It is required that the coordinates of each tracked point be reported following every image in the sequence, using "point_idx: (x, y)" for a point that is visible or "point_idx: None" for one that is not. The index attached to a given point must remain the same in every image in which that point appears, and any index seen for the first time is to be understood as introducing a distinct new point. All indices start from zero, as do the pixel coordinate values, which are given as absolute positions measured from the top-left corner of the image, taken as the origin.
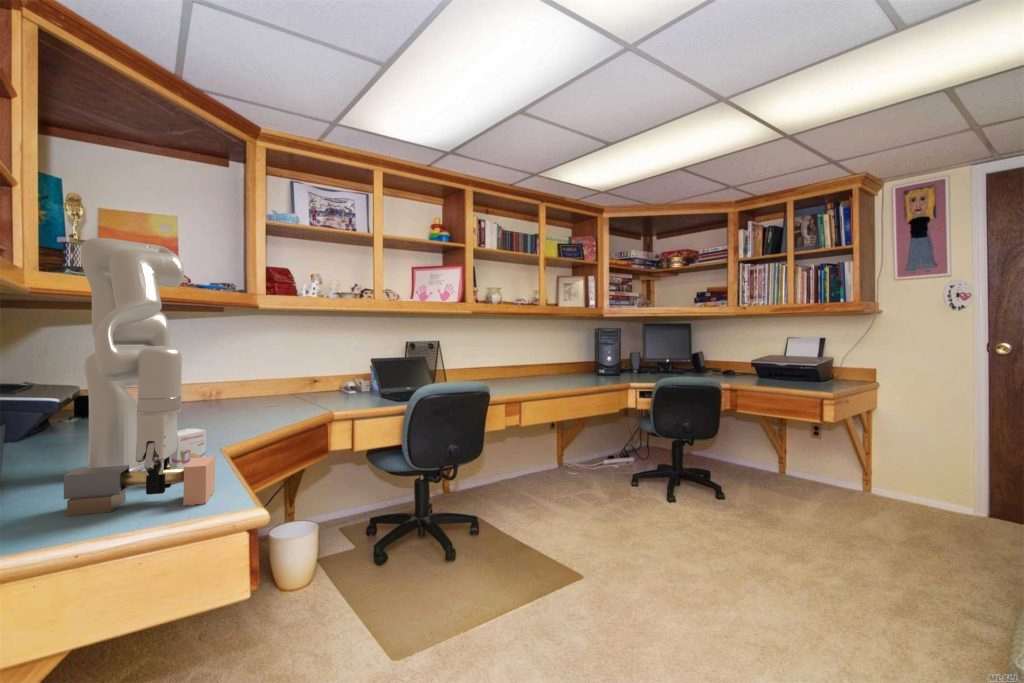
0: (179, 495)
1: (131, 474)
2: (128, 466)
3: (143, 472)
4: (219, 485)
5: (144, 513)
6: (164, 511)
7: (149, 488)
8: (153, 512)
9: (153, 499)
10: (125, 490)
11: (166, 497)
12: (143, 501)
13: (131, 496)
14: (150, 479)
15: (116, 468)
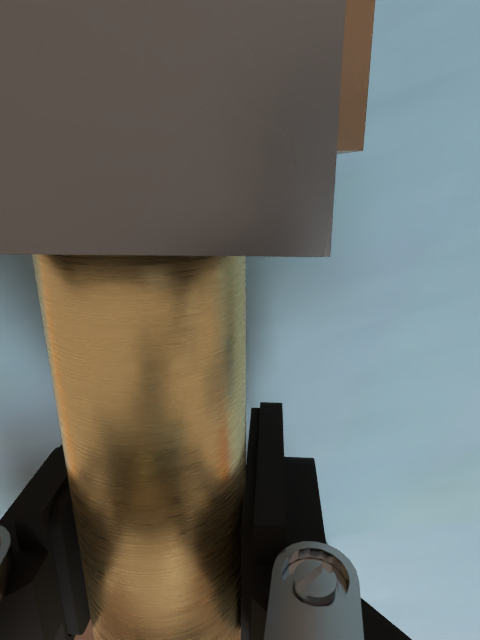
0: (331, 477)
1: (58, 346)
2: (277, 251)
3: (94, 479)
4: (466, 637)
5: (8, 376)
6: (27, 466)
7: (50, 454)
8: (19, 417)
9: (297, 348)
10: (351, 151)
11: (315, 415)
12: (270, 296)
13: (456, 157)
14: (6, 524)
15: (75, 73)
